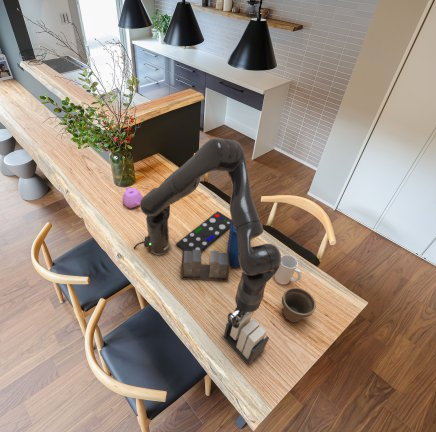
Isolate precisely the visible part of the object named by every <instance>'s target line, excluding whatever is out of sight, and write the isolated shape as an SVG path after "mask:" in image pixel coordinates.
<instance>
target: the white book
mask: <svg viewBox="0 0 436 432" xmlns="http://www.w3.org/2000/svg"><path fill="white" fill-rule="evenodd" d="M252 313H253V314H254V312H249V313H248V314H247V315H246V316H245V318H244V319H243V320H241V321H240V323H239V327H238V328H237V329H236V328H234V327H233V326H232V329H231V333H230V336H231V337H232V338H233V339H234V340H237V339H238V338H239V336H240V332H241V329H242V328H243V327H244V326H246V325H247V324H248V323H249V322H250V321H251V320H252V316H253V315H252ZM241 316H243V315H241ZM236 318H237V317H236ZM237 320H238V318H237Z"/></svg>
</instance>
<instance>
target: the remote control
mask: <svg viewBox="0 0 436 432" xmlns="http://www.w3.org/2000/svg"><path fill="white" fill-rule="evenodd" d="M231 219H232V218H229V217H228V216H226V215H224V214H223V213H221V212H220V211H216V212H215V213H213V214H212V215H211V216H209V217H208V218H206V220H204V221H202V223H200V224H199V225H198V226H197V227H195V228H194V229H193V230H192V231H190V232H189V233H188V234H186V235H185V236H183V238H181V239H180V240H179V241H177V242H176V243H175V245H176V247H177V248H179V249H180V250H181V251H193V250H201V253H203V252H204V251H205V250H206V249H207V248H209V247H210V246H211V245H212V244H214V243H215V241H217V240H218V239H219V238H220V237H221V236H222V235H225V233H226V232H228V230H230V226H231Z"/></svg>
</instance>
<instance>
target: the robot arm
mask: <svg viewBox="0 0 436 432" xmlns="http://www.w3.org/2000/svg"><path fill="white" fill-rule="evenodd" d="M216 171H217V172H226V173H227V174H228V177H229V179H230V183H231V195H230V200H229V201H230V202H229V215H230V217H231V218H230V219H232V221H233V224H234V227H235V230H236V233H237V239H238V255H239V265H240V267H239V268H240V269H241V271H242V272H241V276H240V280H239V282H238V285H237V288H236V293H235V297H234V298H235V299H234V301H235V305H236V307H235V309H234V311H233V312H229V313H228V314H227V323H228V322H229V323H230V324H231V325H232V326H233V327H234V328H236V329H237V328H238V327H239V323H240V321H241V320H243V319H244V318H245V316H246V315H247V314H248V313H249V312H253V313H252V316H253V314H254V312H256V311H257V310H258V309H259V308H260V306H261V303H262V301H263V298H264V296H265V295H264V294H265V289H266V286H267V283H268V282H269V281H270V280H271V279H272V278H273V277H274V276H275V273H276V272H277V270H278V269H279V267H280V264H281V256H282V254H281V251H280V249H279V248H278V247H277V246H276V245H275V244H272V243H263V244H258V245H255V246H251V242H252V240H253V239H255V238H257V237H260V236H261V235H262V234H263V233H264V227H263V223H262V221H261V218H260V216H259V213H258V209H257V207H256V204H255V202H254V197H253V194H252V189H251V184H250V178H249V173H248V167H247V161H246V156H245V152H244V148H243V147H242V145H241V143H240V142H239V141H237V140H235V139H229V138H222V137H212V138H210V139H208V140H207V141H206V142H205V143H204V144H202V145H201V147H200V148H199V149H198V150H197V151H196V152H195V153H194V154H193V155H192V156H191V157H190V158H189V159H188V160H187V161H185V162H184V163H183V164H182V165H181V166H180V167H178V168H177V169H176V170H174V171H173V172H171V174H169V176H167V177H166V178H165V180H163V181H162V183H160V184H159V186H158V187H154V188H152V189H150V191H149V192H148V193H146V194H145V195H144V196H142V200H141V202H140V206H139V209H140V210H141V213H143V214H144V215H145V216H146V218H145V221H146V229H147V236H144V239H143V241H140V242H138V243H137V244H135V245H134V246H133V249H134V250H135V249H136V248H137V247H138V246H139V245H142V244H143V246H144V248H148V252H149V253H151V254H153V255H156V256H162V255H166V254H167V253H168V252H169V251H170V247H171V245H170V233H169V232H170V231H169V230H170V229H169V219H170V215H171V211H170V210H171V205H173V204H175V203H177V202H179V201H181V200H182V199H184V198H185V197H187V196H189V195H190V194H192V193H193V192H195V191H196V190H197V189H198V187H199V184H200V180H201V178H202V177H203V176H204V175H206V174H209V173H210V172H216ZM241 315H243V316H241ZM236 317H237V318H238V320H237V318H236Z"/></svg>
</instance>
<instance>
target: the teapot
mask: <svg viewBox="0 0 436 432" xmlns="http://www.w3.org/2000/svg"><path fill="white" fill-rule="evenodd" d="M142 198H143V195H142V194H141V192H140V190H138V189H137V188H135V187H131V188H130V186H127V187H126V190H125V191H124V193H123V195H122V203H123V204H124V206H125V207H127V208H129V209H133V208H136V207H140V202H141V200H142Z"/></svg>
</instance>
